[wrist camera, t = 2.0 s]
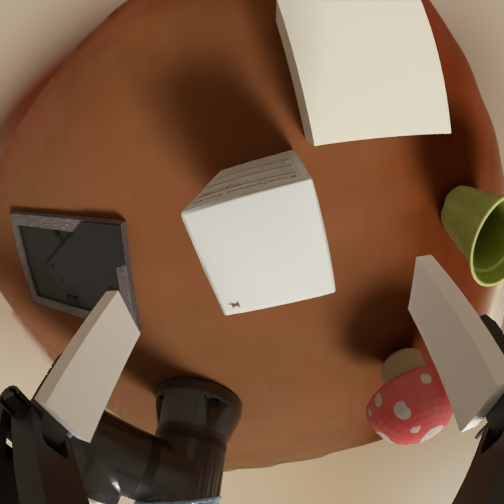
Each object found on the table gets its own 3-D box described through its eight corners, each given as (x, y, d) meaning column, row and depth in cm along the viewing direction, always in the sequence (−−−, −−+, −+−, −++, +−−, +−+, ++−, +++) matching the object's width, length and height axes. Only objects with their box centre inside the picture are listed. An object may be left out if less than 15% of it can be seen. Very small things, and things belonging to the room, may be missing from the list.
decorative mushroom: (424, 370, 38) (449, 442, 25) (352, 386, 40) (365, 467, 27) (444, 312, 32) (490, 393, 19) (359, 329, 34) (386, 429, 21)
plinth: (305, 138, 24) (314, 145, 19) (275, 21, 19) (276, -2, 13) (418, 126, 22) (451, 133, 17) (394, 17, 17) (420, 0, 11)
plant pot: (473, 155, 22) (524, 176, 14) (492, 220, 25) (534, 252, 17) (416, 197, 25) (460, 232, 18) (442, 260, 28) (477, 302, 21)
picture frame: (127, 218, 29) (15, 209, 29) (119, 225, 27) (6, 214, 28) (142, 324, 37) (39, 297, 37) (137, 334, 35) (32, 304, 35)
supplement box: (313, 219, 27) (338, 297, 16) (241, 236, 29) (221, 319, 18) (295, 146, 24) (315, 176, 13) (218, 167, 26) (175, 214, 14)
